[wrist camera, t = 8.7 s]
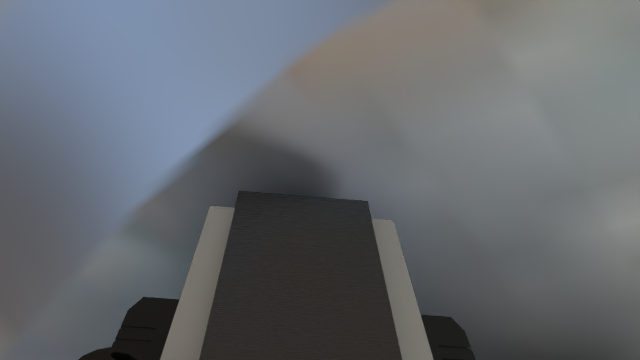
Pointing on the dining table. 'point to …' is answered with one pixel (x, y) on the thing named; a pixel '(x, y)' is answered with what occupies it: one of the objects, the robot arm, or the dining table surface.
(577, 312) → the dining table surface
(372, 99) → the dining table surface
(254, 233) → the dark grey angular block
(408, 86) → the dining table surface
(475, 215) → the dining table surface
